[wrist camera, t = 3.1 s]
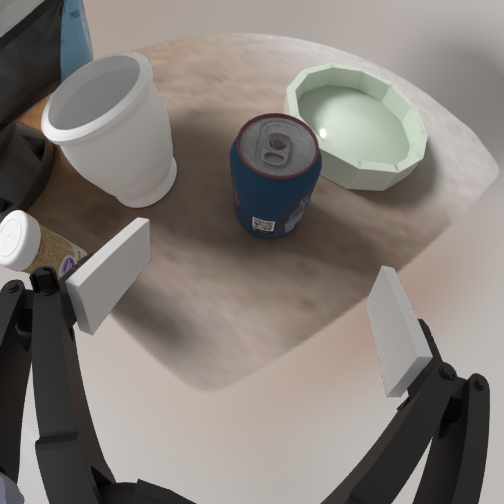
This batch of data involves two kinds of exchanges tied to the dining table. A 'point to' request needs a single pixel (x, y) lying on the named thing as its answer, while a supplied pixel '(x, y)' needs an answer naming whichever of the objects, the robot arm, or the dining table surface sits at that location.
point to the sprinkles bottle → (35, 246)
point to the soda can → (274, 173)
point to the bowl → (358, 125)
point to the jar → (114, 128)
